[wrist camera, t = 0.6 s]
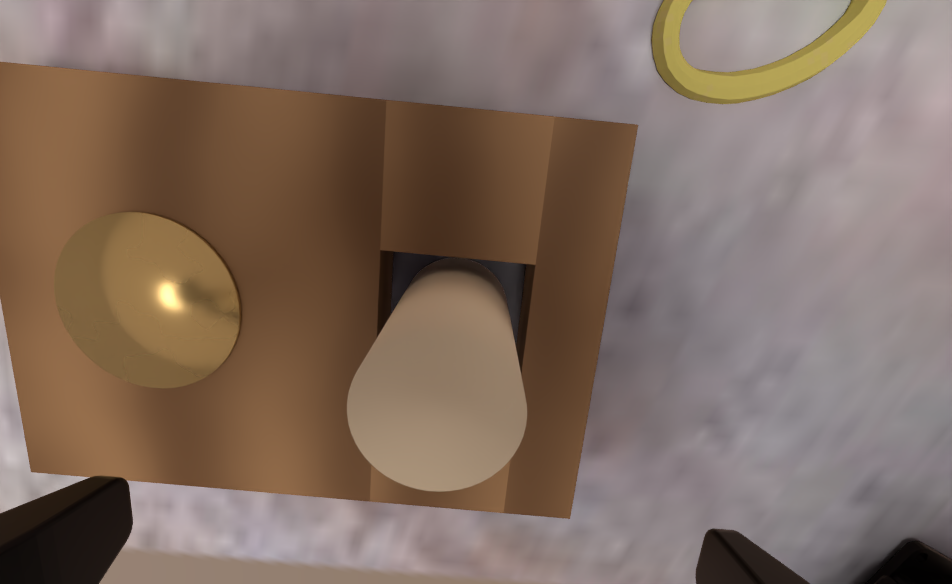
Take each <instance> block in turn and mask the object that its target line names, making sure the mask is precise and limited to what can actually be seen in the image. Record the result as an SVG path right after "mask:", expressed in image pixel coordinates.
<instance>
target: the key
mask: <svg viewBox="0 0 952 584" xmlns="http://www.w3.org/2000/svg"><path fill="white" fill-rule="evenodd" d="M692 1H693V0H664V1H663V3H662V5H661V7H660V8H659V10H658V13H657V16H656V19H655V22H654V25H653V32H652V49H653V57H654V60H655V64H656V67H657V71H658V72H659V74H660V75H661V76H662V78H663V79H664V81H665V82H666V83H667V84H668V85H669V86H670V87H672V88H673V89H674V90H675V91H676V92H677V93H679V94H681V95H683V96H686V97H688V98H690V99H693V100H697V101H701V102H706V103H716V104H733V103H741V102H746V101H751V100H756V99H760V98H763V97H767V96H770V95H774V94H776V93H779V92H781V91H784V90H786V89H789V88H791V87H794V86H796V85H798V84H800V83H802V82H804V81H806V80H808V79H810V78H812V77H813V76H815V75H816V74H818V73H819V72H821V71H822V70H824V69H825V68H826V67H828V66H829V65H830V64H832V63H833V62H834V61H836V60H837V59H838V58H839V57H841V56H842V55H843V54H844V53H846V52H847V51H848V50H849V49H850V48H851V47H852V46H853V45H854V44H855V43H857V42H858V41H859V40H860V39H861V38H862V37H863V36H864V34H865V33H866V32H867V31H868V30H869V29H870V28H871V26H872V25H873V24H874V23H875V21H876V20H877V18H878V16H879V15H880V13H881V11H882V9H883V8H884V6H885V4H886V1H887V0H851V3H850V5H849V7H848V8H847V10H846V12H845V14H844V15H843V16H842V17H841V18H840V19H839V20H838V21H837V22H836V23H835V24H834V25H833V26H832V27H831V28H830V29H829V30H828V31H826V32H825V33H824V34H823V35H822V36H820V37H819V38H818V39H817V40H815V41H814V42H813V43H811V44H810V45H808V46H806V47H804V48H803V49H801V50H799V51H797V52H795V53H794V54H792V55H790V56H788V57H786V58H784V59H781V60H779V61H776V62H773V63H771V64H768V65H764V66H761V67H758V68H755V69H749V70H743V71H736V72H712V71H705V70H699V69H695V68H693V67H692V66H690V65H689V64H688V63H687V62H686V60H685V59H684V57H683V56H682V53H681V50H680V47H679V33H680V24H681V21H682V18H683V16H684V13H685V11H686V9H687V8H688V6H689V4H690V3H691V2H692Z"/></svg>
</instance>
